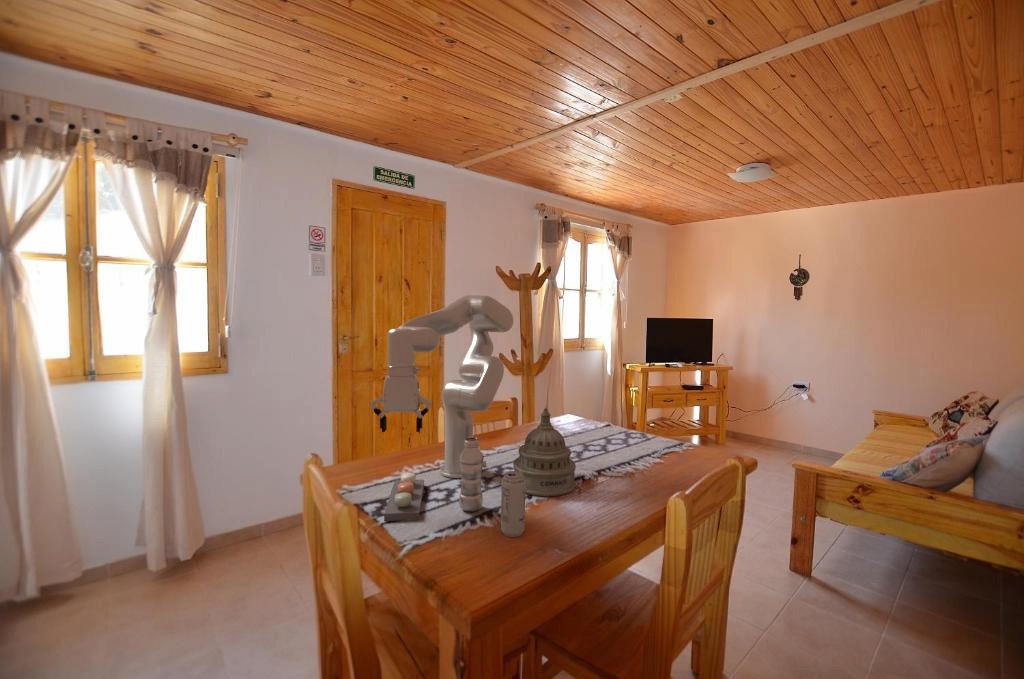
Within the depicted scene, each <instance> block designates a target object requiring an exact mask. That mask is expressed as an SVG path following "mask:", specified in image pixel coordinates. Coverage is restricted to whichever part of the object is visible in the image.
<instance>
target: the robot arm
mask: <svg viewBox="0 0 1024 679" xmlns="http://www.w3.org/2000/svg"><path fill="white" fill-rule="evenodd" d="M467 324H468V326H469V329H470V335H471V336H470V337H471V341H470V343H469V345H468V349H467V350H466V352H465V355H464V356H463V359H462V360H461V362H460V365H459V367H458V375H459V377H460V378H461V379H452V380H449V381H447V382H446V383H445V384H444V385H443V388H442V390H441V391H442V392H441V400H442V403H443V411H444V465H442V466H441V467H440V468H439V473H440V474H441V475H442V476H443V477H446V478H448V479H449V478H451V479H462V477H461V465H460V456H461V454H462V452H463V451H464V449H465V448H466V447H465V439H466V438H474V419H473V415H472V413H471V412H477V413H479V412H480V413H481V412H485V411H487V410H488V409H489V408H490V407H491V405H492V403H493V400H494V398H495V396H496V395H497V392H498V390H499V387H500V385H501V383H502V381H503V378H504V372H505V367H504V363H503V361H502V360H501V358H500V357H497V356H493V355H492V354H493V352H494V343H493V341H492V338H491V336H490V333H489V332H491V333H507V332H509V331H510V330H511V329H512V328H513V325H514V316H513V313H512V312H511V310H510V309H509V308H508V307H506V306H505V305H504V304H502V303H501V302H499V301H498V300H497V299H495V298H493V297H492V296H489V295H470V294H468V295H464V296H462V297H459V298H458V299H456V300H455V301H453V302H451V303H450V304H448V305H447V306H445V307H443V308H441V309H438V310H435V311H432V312H429V313H426V314H423V315H419V316H417V317H414V318H412V319H410V320H407V322H405V323H403V324H402V325H400V326H398V328H390V329H388V332H387V375H386V376H385V378H384V382H383V383H384V384H383V389H382V390H383V391H382V396H380V397H378V398H376V399H374V400H372V401H371V402H370V403H369V405H370V408H371V409H372V410H373V413H374V414H376V415H377V417H378V419H379V429H381V433H385V432H386V431H387V421H388V420H387V415H386V414H387V413H413V412H414V414H415V415H416V421H415V422H416V429H415V430H416V431H415V432H417V433H420V431H421V429H423V417H424V416H425V415H426V414H427V413H428V412H429V410H430V408H431V407H432V404H433V402H432V401H431V400H428V399H427V398H425V397H423V396H422V395H420V394H421V393H420V392H421V391H420V383H419V377H418V375H416V374H417V373H420V372H421V368H420V367H417V366H416V353H424V354H426V353H427V354H428V353H431V352H434V351H435V350H437V348H438V347H439V345H440V342H441V337H440V336H446V335H450V334H453V333H456V332H458V331H459V330H460V329H461V328H463V327H465V325H467ZM380 403H382V410H381V409H380V408H379V407H378V404H380ZM421 404H423V405H425V407H424V408H423V410H421V409H420V406H421ZM482 468H487V461H485V460H483V466H482Z"/></svg>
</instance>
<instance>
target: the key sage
mask: <svg viewBox="0 0 1024 679" xmlns="http://www.w3.org/2000/svg"><path fill="white" fill-rule="evenodd" d="M410 504H411V494H410V493H399V494H396V495H395V505H396V506H408V505H410Z"/></svg>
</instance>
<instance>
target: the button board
mask: <svg viewBox="0 0 1024 679" xmlns="http://www.w3.org/2000/svg"><path fill="white" fill-rule="evenodd" d="M400 483H401V479H399V480H397V479H395V480H394V482H393V485H392V488H391V491H390V493H389V494H390V495H389V498H388V501H387V503H386V507H385V510H384V512H383V521H384V522H395V521H396V522H397V521H398V522H399V521H416V520H417V521H419V520H420V515H421V509H422V508H421V507H422V502H423V501H422V500H423V494H424V489H425V479H416V482H415V483H413V484H414V492H413V493H412V494H411V504H410V505H408V506H396V505H395V495H396V494H399V493H398V485H399V484H400Z"/></svg>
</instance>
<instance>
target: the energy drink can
mask: <svg viewBox="0 0 1024 679" xmlns="http://www.w3.org/2000/svg"><path fill="white" fill-rule="evenodd" d="M525 483H526V481H525V479H524V477H523V473H521V472H518V471H514V470H510V471H506V472H504V473H503V477H502V479H501V493H500V494H501V497H500V498H501V501H500V503H501V506H500V507H501V509H500V530H501V531H502V534H503V535H504V536H507V537H511V538H515V537H516V538H517V537H520V536H521V535H522V534H523V532H524V531H525V526H526V524H525V523H526V521H525V520H526V493H525Z"/></svg>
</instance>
